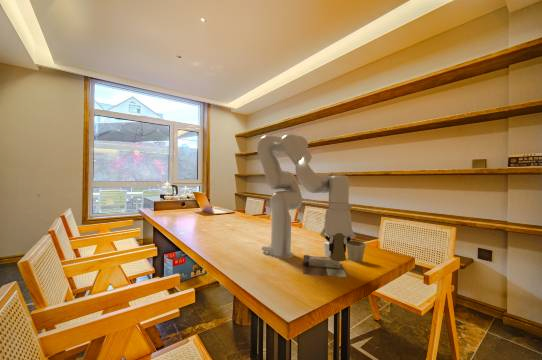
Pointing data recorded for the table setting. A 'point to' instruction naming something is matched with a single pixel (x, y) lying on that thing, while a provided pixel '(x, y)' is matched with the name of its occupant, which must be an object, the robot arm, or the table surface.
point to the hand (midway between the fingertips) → (337, 252)
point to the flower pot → (355, 250)
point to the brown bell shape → (338, 248)
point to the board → (325, 270)
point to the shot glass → (326, 248)
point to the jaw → (320, 262)
